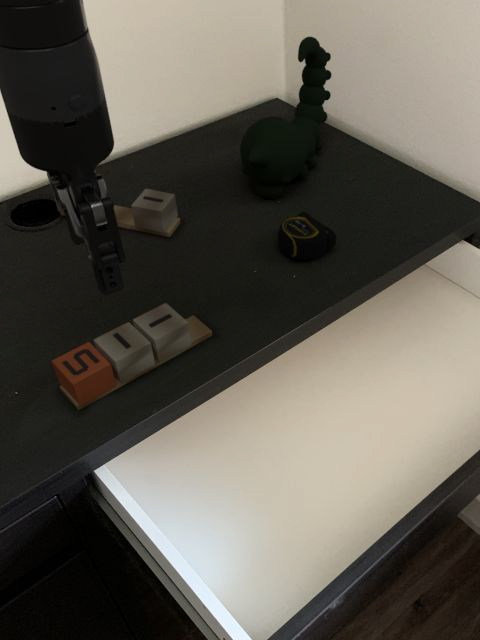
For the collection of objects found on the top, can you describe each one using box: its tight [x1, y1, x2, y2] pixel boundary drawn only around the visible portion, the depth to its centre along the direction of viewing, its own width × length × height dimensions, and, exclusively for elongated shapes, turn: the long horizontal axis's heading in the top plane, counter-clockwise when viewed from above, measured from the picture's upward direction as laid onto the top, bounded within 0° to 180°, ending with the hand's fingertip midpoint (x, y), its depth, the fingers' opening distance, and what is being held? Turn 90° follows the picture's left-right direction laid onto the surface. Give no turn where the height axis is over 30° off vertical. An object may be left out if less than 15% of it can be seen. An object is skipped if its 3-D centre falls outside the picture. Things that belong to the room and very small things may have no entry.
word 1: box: [52, 188, 182, 238], centre depth 93 cm, size 17×4×4 cm, turn 73°
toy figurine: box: [239, 36, 332, 200], centre depth 97 cm, size 9×19×25 cm
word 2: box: [59, 302, 213, 411], centre depth 74 cm, size 18×4×4 cm, turn 132°
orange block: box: [51, 341, 117, 406], centre depth 71 cm, size 4×4×4 cm
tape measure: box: [277, 211, 337, 261], centre depth 90 cm, size 7×7×4 cm
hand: (97, 265), depth 63 cm, fingers open, 8 cm apart
